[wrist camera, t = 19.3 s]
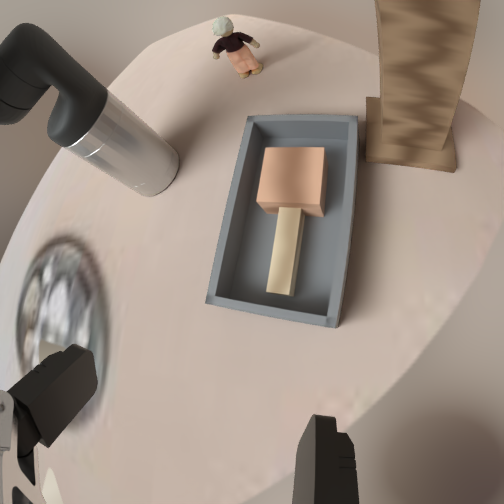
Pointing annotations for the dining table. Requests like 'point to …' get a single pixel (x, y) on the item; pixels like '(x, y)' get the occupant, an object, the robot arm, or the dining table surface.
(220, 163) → the dining table surface
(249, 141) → the tote
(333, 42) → the dining table surface
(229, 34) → the grandmother figurine
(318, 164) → the mallet
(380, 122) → the brown tall square column
